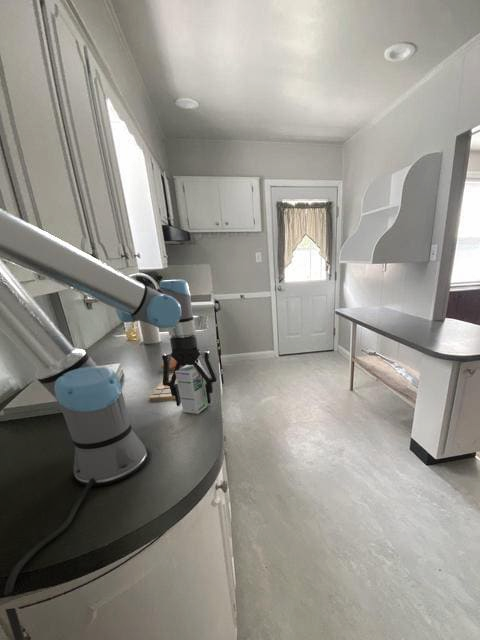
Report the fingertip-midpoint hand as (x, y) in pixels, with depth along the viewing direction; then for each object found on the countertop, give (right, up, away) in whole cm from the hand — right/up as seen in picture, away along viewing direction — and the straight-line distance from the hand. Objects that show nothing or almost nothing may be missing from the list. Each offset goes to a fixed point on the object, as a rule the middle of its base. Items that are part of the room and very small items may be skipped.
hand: (194, 403), depth 98 cm
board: (-12, +5, +18) cm, 22 cm away
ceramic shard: (-21, +14, +41) cm, 48 cm away
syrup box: (0, -2, +1) cm, 2 cm away
